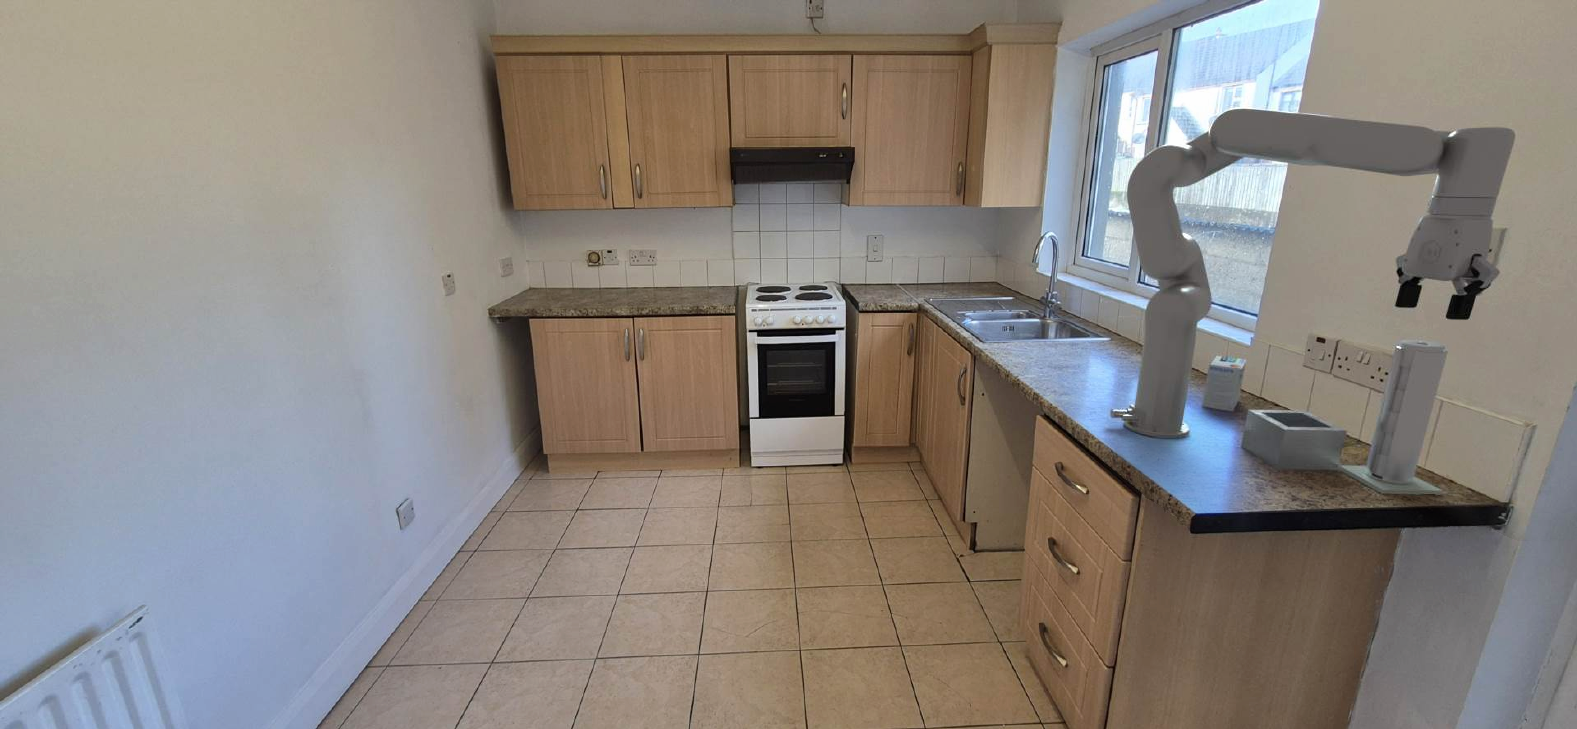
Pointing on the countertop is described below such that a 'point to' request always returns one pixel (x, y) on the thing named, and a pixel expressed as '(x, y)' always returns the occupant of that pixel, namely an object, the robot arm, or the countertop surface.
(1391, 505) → the countertop surface
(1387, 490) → the mat
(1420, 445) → the silver tall cylinder
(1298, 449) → the housing
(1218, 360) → the light bulb box
